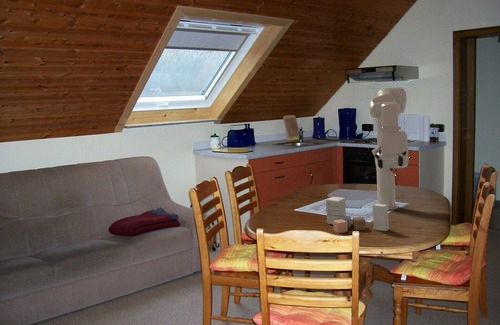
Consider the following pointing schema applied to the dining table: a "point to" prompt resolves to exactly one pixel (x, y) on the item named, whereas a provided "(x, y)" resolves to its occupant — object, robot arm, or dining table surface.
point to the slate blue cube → (346, 218)
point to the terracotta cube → (340, 226)
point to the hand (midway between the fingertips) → (390, 166)
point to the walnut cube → (359, 223)
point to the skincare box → (380, 217)
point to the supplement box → (335, 208)
